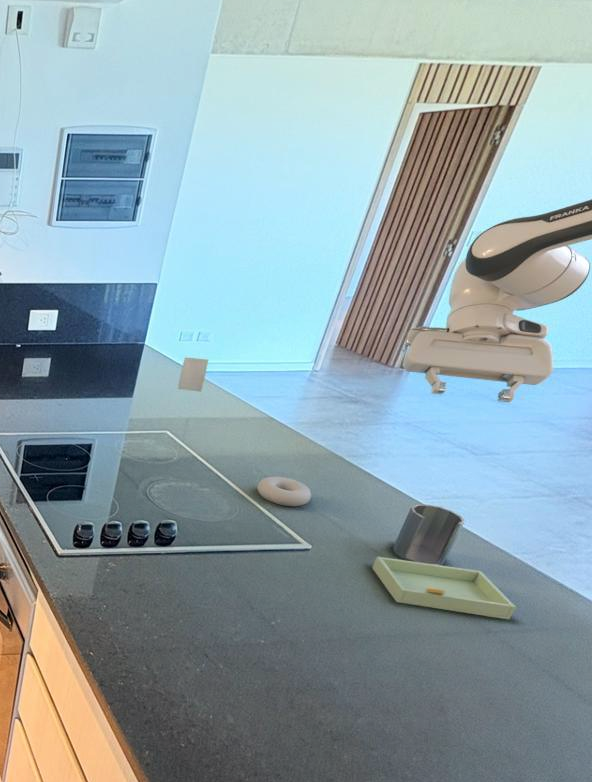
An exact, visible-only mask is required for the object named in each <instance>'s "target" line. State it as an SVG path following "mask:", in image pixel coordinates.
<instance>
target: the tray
mask: <svg viewBox="0 0 592 782" xmlns="http://www.w3.org/2000/svg"><path fill="white" fill-rule="evenodd" d="M371 568H372V570H373V571H374V573H375V575H376V576H377V577H378V578H379V580H380V581H381V583H382V585H384V587H385V588H386V590H387V591H388V592H389V594H390V595H391V596H392V598H393V599H394V600H395V603H401V604H406V605H413V606H420V607H425V608H433V609H438V610H439V609H440V610H444V611H445V610H447V611H452V612H458V613H466V614H470V615H471V614H472V615H478V616H482V617H483V616H484V617H489V618H497V619H502V620H510V619H511V617H512V615H513V614H514V612H515V610H516V608H517V606H516V605H515V604H514V603H513V602H512V601H511V600H510V599H509V598H508V597H507V596H506V595H505V594H504V593H503V592H502V591H501V590H500V589H499V588H498V587H497V586H496V584H494V583H493V582H492V581H491V579H489V578H488V576H486V575H485V574H484V572H482V570H476V569H469V568H462V567H461V568H460V567H454V566H448V565H434V564H427V563H420V562H412V561H406V560H404V559H398V558H390V557H385V556H383V557H382V556H376V558H375V560H374V563H373V565H372V567H371ZM426 589H437V590H443V591H444V594H437V593H430V592H426Z"/></svg>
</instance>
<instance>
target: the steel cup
mask: <svg viewBox="0 0 592 782" xmlns="http://www.w3.org/2000/svg"><path fill="white" fill-rule="evenodd" d="M464 524H465V519H464V518H463V516H462V515H460V514H458V513H457V512H454V511H453V510H450V509H448V508H444V507H442V506H438V505H433V504H427V503H421V504H414V505H412V506H411V507H410V509H409V510H408V513H407V515H406V518H405V520H404V522H403V524H402V527H401V528H400V531H399V533H398V535H397V538H396V539H395V542H394V544H393V553H394V554H395V555H396V556H397V557H399V558H400V559H401V560H405V561H412V562H420V563H427V564H434V565H441V566H443V564H444V563H445V561H446V560H447V559H448V556H449V554H450V552H451V550H452V548H453V545H454V544H455V542H456V539H458V536H459V533H460V532H461V529H462V527H463V526H464Z"/></svg>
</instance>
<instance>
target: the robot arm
mask: <svg viewBox="0 0 592 782" xmlns="http://www.w3.org/2000/svg"><path fill="white" fill-rule="evenodd" d="M590 240H592V198H591V199H588V200H585V201H582V202H579V203H575V204H572V205H569V206H566V207H563V208H559V209H556V210H552V211H549V212H545V213H543V214H537V215H530V216H523V217H517V218H512V219H509V220H505V221H502V222H499V223H497V224H495V225H493V226H491V227H489V228H486V230H484V231H482V232H480V234H479V235H478V236H476V238H474V240H473V241H472V243H471V245H469V248H468V250H467V253H466V255H465V256H466V257H465V258H464V259H463V260H462V261H461V262H460V264H459V265H458V266H457V268H456V270H455V272H454V274H453V277H452V280H451V284H450V289H449V296H448V297H449V298H448V304H449V307H450V311H449V312H448V315H447V317H446V323H445V327H432V326H431V327H429V326H425V325H421V326H417V327H414V328H411V329H409V330H408V331H407V333H406V338H405V343H406V344H407V345H408V346H407V349H406V351H405V354H404V357H403V360H402V361H403V362H402V368H404V370H405V371H406V372H408V373H419V374H425V375H424V378H425V380H426V381H427V382H428V384H429V385H430V386H431V390H430V393H431V394H433V395H443V394H444V393H445V392H446V390H447V382H444V381H441V379H440V377H439V376H446V377H455V378H464V379H473V380H482V381H483V380H484V381H492V382H502V383H506V388H503V389H502V390H501V391H499V392H498V393H497V402H500V403H506V404H507V403H510V402H511V401H513V400H514V398H515V391H516V390H517V389H518V388H520V386H521V385H528V386H529V385H530V386H537V385H540V384H541V383H542V382H544V381H545V380H547V379H548V378H549V377H550V376H551V375H552V374H553V372H554V352H553V347H552V345H551V343H550V342H549V341H548V340H547V339H545V338H546V337H547V336H548V334H549V332H550V331H549V330H550V328H549V327H548V325H546V324H543V323H540V322H536V321H532V320H529V319H526V318H524V317H521V316H518V315H516V314H514V312H516V311H517V312H519V311H525V310H531V309H535V308H539V307H543V306H547V305H550V304H554V303H558V302H560V301H563V300H564V299H566V298H568V297H570V296H571V295H573V294H574V293H575V292H577V291H578V290H579V289H580V288H581V287H582V286H583V284H584V283H585V282H586V281H587V278H588V276H589V274H590V271H591V263H590V261H589V259H588V258H587V257H585V256H583V255H582V254H581V253H579V252H578V251H577V250H575V249H573V248H572V247H570V246H571V245H576V244H578V243H579V244H580V243H583V242H587V241H590ZM507 387H508V388H507Z"/></svg>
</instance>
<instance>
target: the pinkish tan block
mask: <svg viewBox="0 0 592 782" xmlns="http://www.w3.org/2000/svg"><path fill="white" fill-rule="evenodd" d="M208 364H209V359H208V358H207V359H206V358H198V357H197V358H195V357H188V356H187V357H184V359H183V363H182V366H181V367H182V368H181V372H180V376H179V381H178V385H177V390H183V391H184V390H185V391H193V392H202V391H203V385H204V382H205V378H206V373H207V369H208Z"/></svg>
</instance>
